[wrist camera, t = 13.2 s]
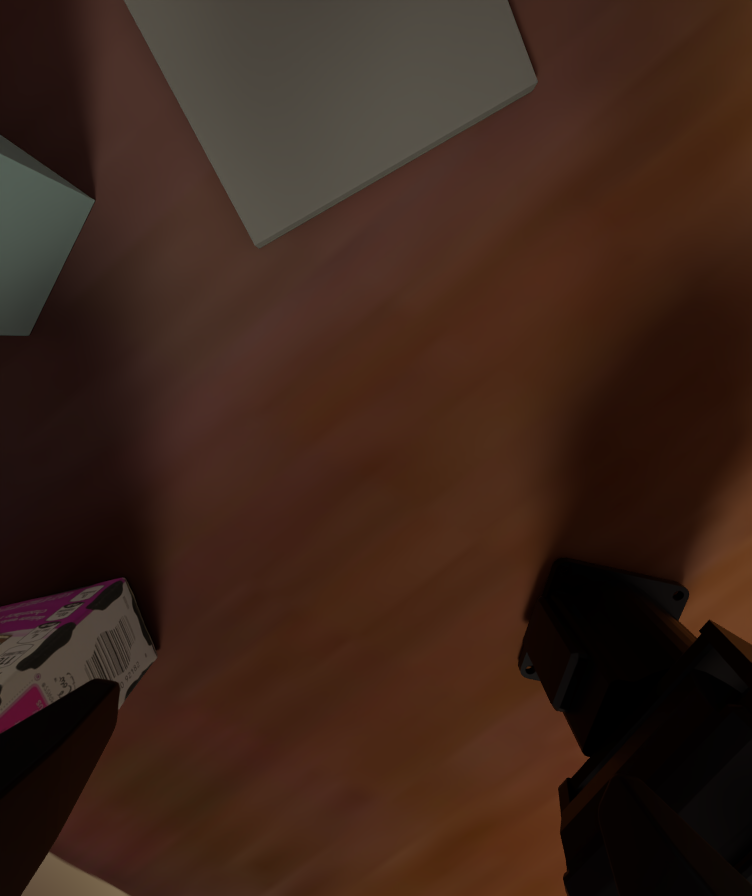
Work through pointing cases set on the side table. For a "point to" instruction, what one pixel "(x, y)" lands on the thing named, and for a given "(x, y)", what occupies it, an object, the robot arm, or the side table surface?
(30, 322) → the block
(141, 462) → the side table surface
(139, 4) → the mat
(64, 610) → the candy bar box
